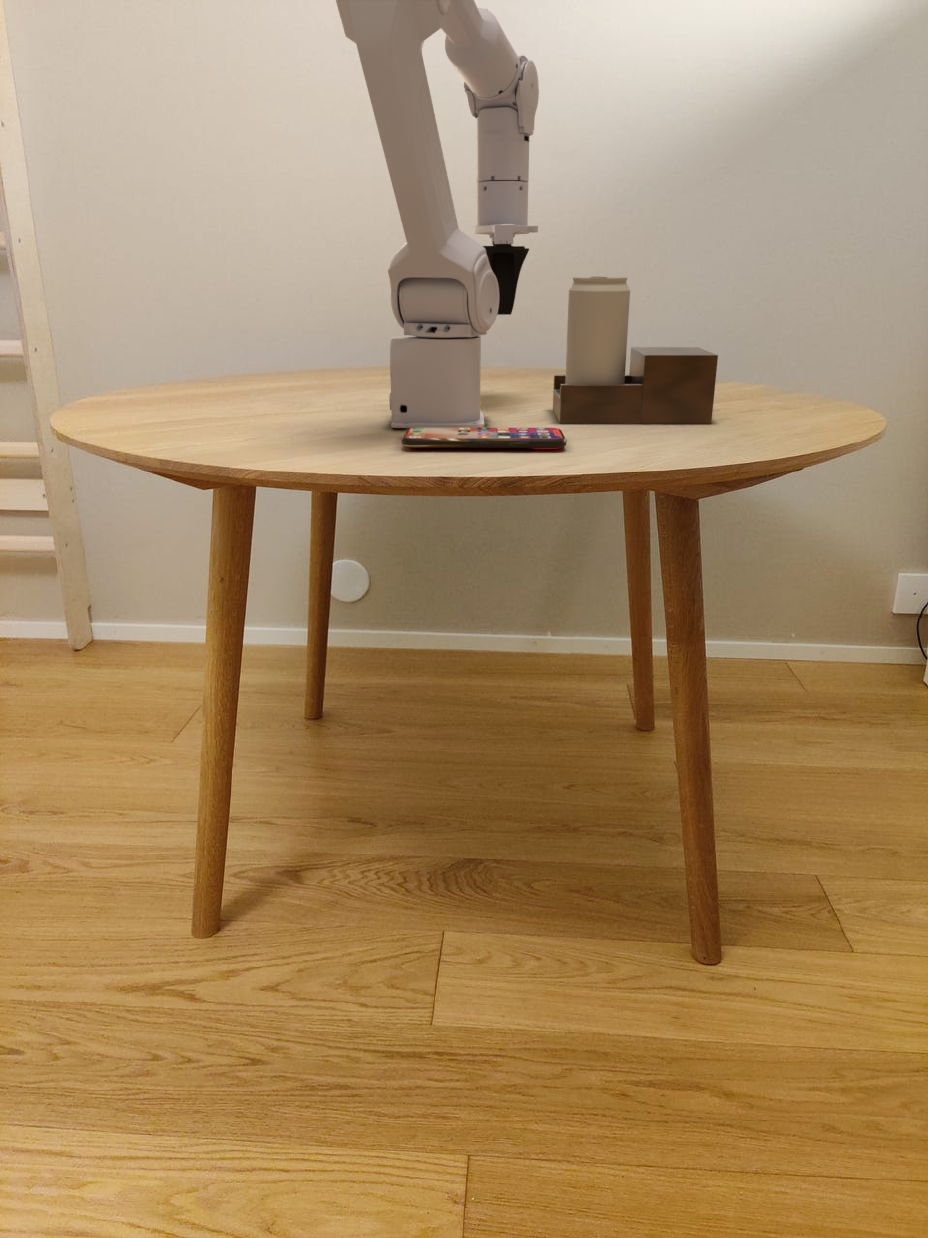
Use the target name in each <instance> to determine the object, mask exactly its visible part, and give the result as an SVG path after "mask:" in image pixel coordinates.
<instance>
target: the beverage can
mask: <svg viewBox="0 0 928 1238" xmlns="http://www.w3.org/2000/svg"><path fill="white" fill-rule="evenodd" d="M572 281H573V282H572V285H571V286H570V288H569V289H568V304H567V307H568V308H567V326H566V327H567V329H566V331H567V332H566V354H565V375H566V378H565V384H624V383H625V375H626V367H627V350H628V349H627V348H628V334H629V332H628V331H629V317H630V302H631V299H630V298H631V288H630V287H629V285H628V283H627V281H628V277H625V276H575V277H572Z"/></svg>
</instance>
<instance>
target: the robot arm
mask: <svg viewBox="0 0 928 1238" xmlns="http://www.w3.org/2000/svg"><path fill="white" fill-rule="evenodd" d="M335 2H336V7H337V10H338V14H339V18H340V20H341V24H342V28H343V32H344V35H345V37H346V38H347V39H348V40H349V41H351V42H353V43H354V44H356V49H357V52H358V53H357V54H358V57H359V62H360V66H361V69H362V73H363V77H364V80H365V85H366V88H367V92H368V96H369V99H370V104H371V107H372V112H373V116H374V120H375V123H376V127H377V132H378V135H379V139H380V143H381V147H382V151H383V155H384V158H385V163H386V166H387V170H388V175H389V178H390V182H391V186H392V189H393V193H394V198H395V201H396V205H397V209H398V213H399V217H400V221H401V225H402V229H403V233H404V236H405V240H406V242H405V243H404V244H403V245H402V246H401V247H400V248H399V249H398V250H397V251H396V252H395V254H394V255H393V257H392V258H391V260H390V264H389V266H388V269H387V274H388V279H389V284H390V306H391V310H392V313H393V316H394V318H395V320H396V322H397V324H398V326H400V327H401V328H402V329H403V335H404V336H392V337H391V339H390V345H389V347H390V348H389V373H390V374H389V377H390V392H389V397H388V399H389V410H390V411H391V423H390V427H391V428H393V429H409V428H414V427H485V415H484V414H485V413H484V412H483V411H481V373H482V372H481V369H482V367H481V363H482V360H481V359H482V357H481V356H482V354H481V353H482V349H481V348H482V337H481V336H485V335H487V334H488V333H487V332H488V331H489V330H490V329H491V327H492V326H493V324H494V323H495V321H496V320H497V317H498V316H499V315H502V316H504V315H505V316H507V315H509V316H510V315H512V313H513V309H514V306H515V300H516V295H517V288H518V283H519V278H520V275H521V271H522V267H523V264H524V262H525V260H526V257H527V256H528V254H529V251H530V248H528V247H525V245H514V238H515V237H516V235H529V234H530V233H532V234H533V233H534V234H535V233H538V232H539V226H538V225H528V220H529V217H528V216H529V178H530V177H529V176H530V172H529V171H530V167H529V166H530V137H531V136H533V135H534V131H535V118H536V117H535V116H536V113H537V109H538V105H539V98H540V87H539V86H540V84H539V75H538V74H539V73H538V70H537V67H536V64H535V62H534V61H533V60H529V59H528V58H527V56H526V55H518V54H517V52H516V51H515V49H514V46H513V45H512V44H511V41H510V39H509V38H508V36H507V34H506V33H505V31H504V29H503V28H502V26H501V24H500V22H499V21H498V19H497V17H496V15H495V14H494V13H492V11H490V10H489V9H488V8H482V7H478V6H477V4H476V1H475V0H335ZM439 30H442V32H443V33H444V34H445V38H444V49H445V54H446V56H447V59H448V60H449V61H450V63H451V65H452V66H453V67H454V69H455V70H456V72H457V73H458V74H459V77H461V79H462V80H463V82H464V83H463V89H464V92H465V94H466V97H467V103H468V107H469V110H470V113H471V115H472V117H473V118H475V119H476V225H475V226H474V234H475V235H486V236H487V235H489V239H491V245H482V244H480V243H479V242H478V241H477V240H475V239H473V238H472V237H470V236H469V235H467V234H466V233H465V232H463V231H462V230H461V228H459V224H458V219H457V214H456V209H455V205H454V200H453V194H452V189H451V185H450V180H449V176H448V172H447V166H446V161H445V158H444V152H443V148H442V142H441V137H440V134H439V133H440V132H439V128H438V124H437V119H436V118H437V117H436V114H435V109H434V104H433V100H432V95H431V91H430V87H429V86H430V85H429V80H428V76H427V71H426V67H425V62H424V57H423V47H424V44H425V41H426V40H427V39H428V38H430V37H431V36H433V35H434V34H435V33H436V32H438V31H439Z"/></svg>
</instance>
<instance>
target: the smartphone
mask: <svg viewBox="0 0 928 1238" xmlns="http://www.w3.org/2000/svg"><path fill="white" fill-rule="evenodd" d="M401 444H402V446H403V447H405V448H408V449H409V448H410V449H533V450H557V449H561V448H565V446H566V445H567V439H566V436H565V435H564V433H563V431H562V429H560V428H558V427H512V426H511V427H508V426H507V427H498V426H497V427H495V426H494V427H486V426H484V427H414V428H406V430H405V433H404V434H403V437H402V439H401Z"/></svg>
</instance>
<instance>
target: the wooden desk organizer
mask: <svg viewBox="0 0 928 1238" xmlns="http://www.w3.org/2000/svg"><path fill="white" fill-rule="evenodd" d="M718 360H719V355H718V354H716V353H713V352H711V351H708V350H705V349H703V348H700V347H699V346H631V347H630V358H629V374H625V383H624V384H565V378H566V374H554V375H553V394H552V412H553V413H554V415H555V417H556V420H557V421H558V423H559V424H561V425H563V424H564V425H565V424H567V425H569V424H573V425H574V424H575V425H576V424H578V425H579V424H581V425H583V424H586V425H587V424H588V425H591V424H592V425H594V424H595V425H597V424H599V425H602V424H603V425H605V424H606V425H611V424H613V425H616V424H617V425H620V424H621V425H631V424H632V425H634V424H635V425H640V424H641V425H711V424H712V422H713V412H714V400H715V390H716V381H717V380H716V379H717V370H718Z"/></svg>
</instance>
